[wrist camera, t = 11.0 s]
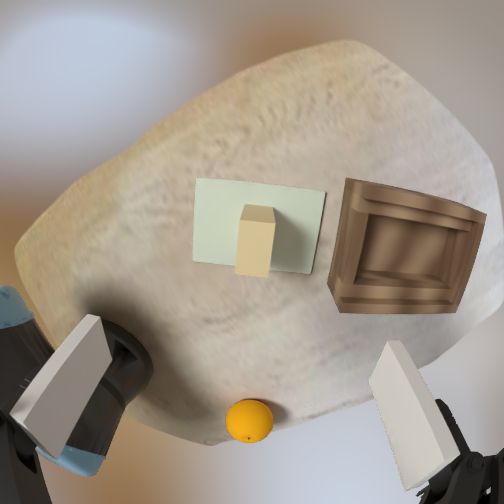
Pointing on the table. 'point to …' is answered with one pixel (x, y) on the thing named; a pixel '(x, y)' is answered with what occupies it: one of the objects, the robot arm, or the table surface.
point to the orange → (249, 421)
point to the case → (402, 251)
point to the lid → (256, 226)
